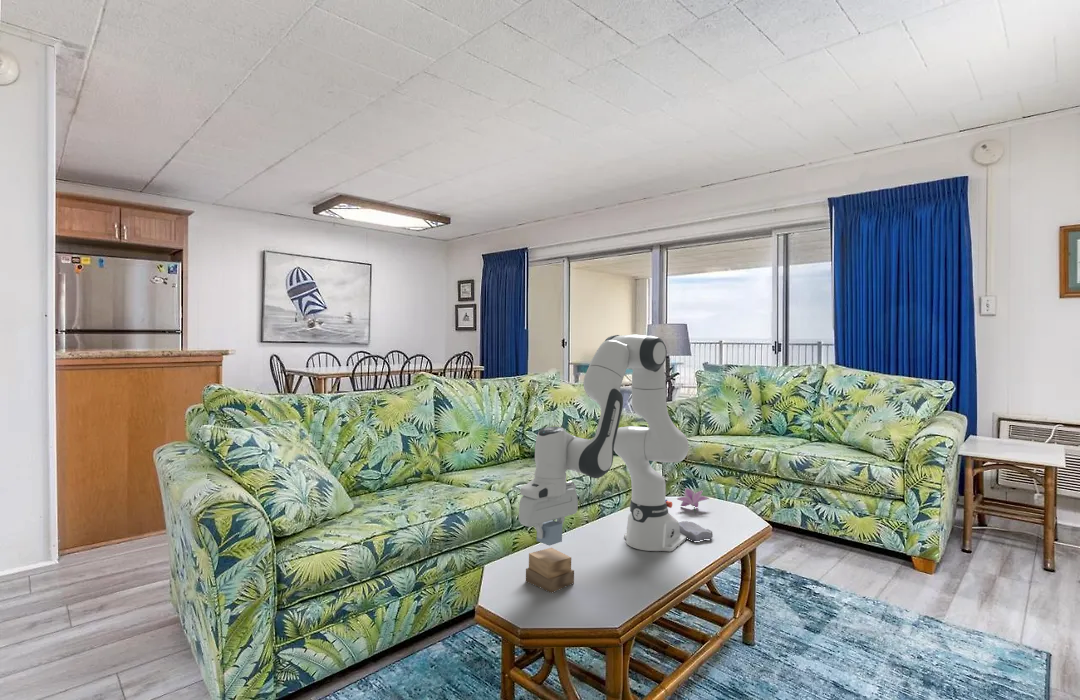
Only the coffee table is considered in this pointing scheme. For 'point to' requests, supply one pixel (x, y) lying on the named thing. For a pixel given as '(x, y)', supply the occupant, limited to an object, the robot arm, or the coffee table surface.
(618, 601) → the coffee table surface
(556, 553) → the teak block
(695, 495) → the lily
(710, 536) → the stone block
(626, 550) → the coffee table surface
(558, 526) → the slate cube
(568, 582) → the walnut block
